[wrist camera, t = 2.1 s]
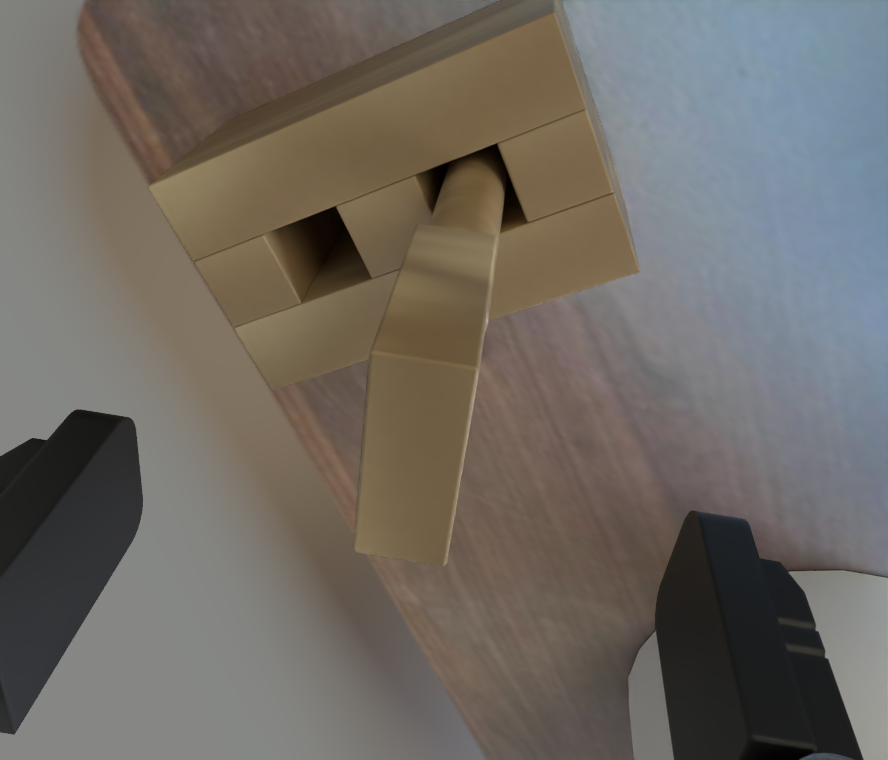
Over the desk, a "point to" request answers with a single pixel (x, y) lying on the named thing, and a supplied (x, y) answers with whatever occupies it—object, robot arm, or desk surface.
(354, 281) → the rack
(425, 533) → the wooden paddle
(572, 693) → the desk surface
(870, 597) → the cylinder
